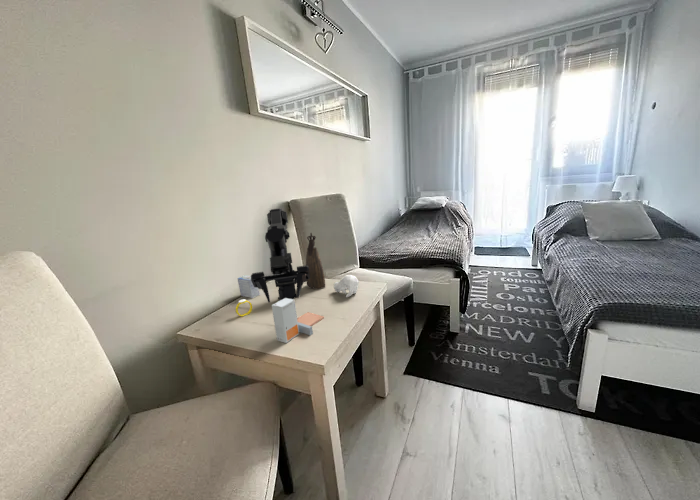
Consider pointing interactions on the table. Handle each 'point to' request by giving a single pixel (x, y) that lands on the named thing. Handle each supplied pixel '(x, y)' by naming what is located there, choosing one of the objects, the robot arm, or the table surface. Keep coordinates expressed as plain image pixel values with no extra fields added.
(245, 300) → the watch
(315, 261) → the statue
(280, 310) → the skincare box
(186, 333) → the table surface
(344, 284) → the white animal figurine
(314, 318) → the terracotta tile
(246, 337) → the table surface
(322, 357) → the table surface
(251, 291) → the medicine box
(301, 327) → the low wall
